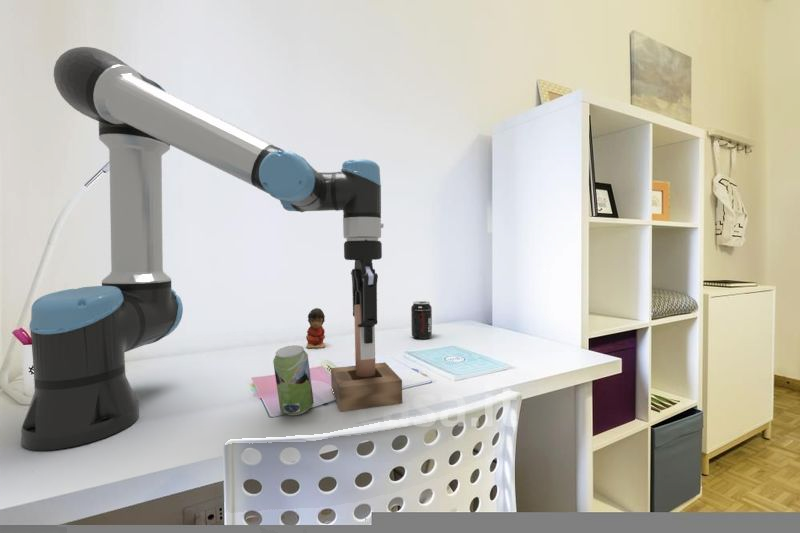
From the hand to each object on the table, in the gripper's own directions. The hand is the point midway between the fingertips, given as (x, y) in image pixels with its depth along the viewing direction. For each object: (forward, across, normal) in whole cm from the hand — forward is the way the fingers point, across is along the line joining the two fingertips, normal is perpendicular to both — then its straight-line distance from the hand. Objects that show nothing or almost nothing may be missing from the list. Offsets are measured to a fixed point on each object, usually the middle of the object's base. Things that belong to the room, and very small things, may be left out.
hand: (365, 355), depth 76 cm
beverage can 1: (+8, -3, +14) cm, 17 cm away
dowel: (+4, 0, 0) cm, 4 cm away
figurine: (+8, +43, +6) cm, 44 cm away
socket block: (+8, 0, 0) cm, 8 cm away
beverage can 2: (+9, +43, -29) cm, 53 cm away
